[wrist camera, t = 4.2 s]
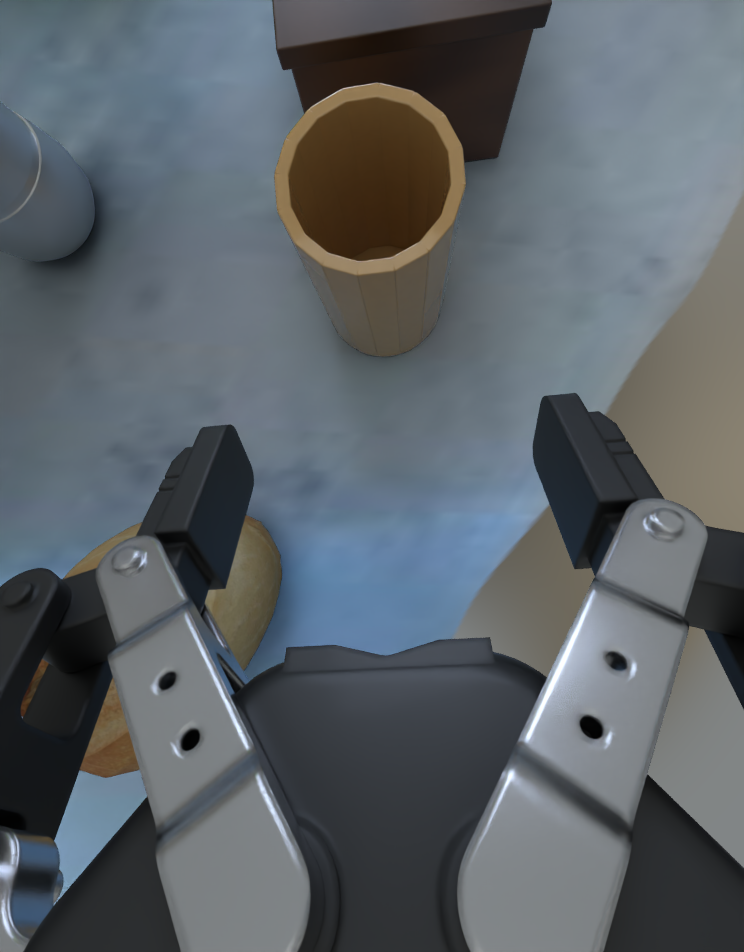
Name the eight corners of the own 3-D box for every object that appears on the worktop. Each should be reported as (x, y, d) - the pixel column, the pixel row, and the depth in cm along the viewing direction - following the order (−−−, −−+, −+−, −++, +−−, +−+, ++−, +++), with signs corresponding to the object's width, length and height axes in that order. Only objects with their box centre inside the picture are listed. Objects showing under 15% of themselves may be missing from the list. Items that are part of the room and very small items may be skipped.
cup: (333, 362, 25) (282, 285, 15) (323, 250, 25) (267, 99, 15) (446, 350, 24) (472, 261, 14) (437, 236, 24) (456, 69, 14)
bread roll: (54, 665, 26) (-102, 748, 18) (195, 463, 25) (98, 456, 18) (178, 767, 25) (74, 899, 18) (327, 561, 25) (288, 601, 17)
